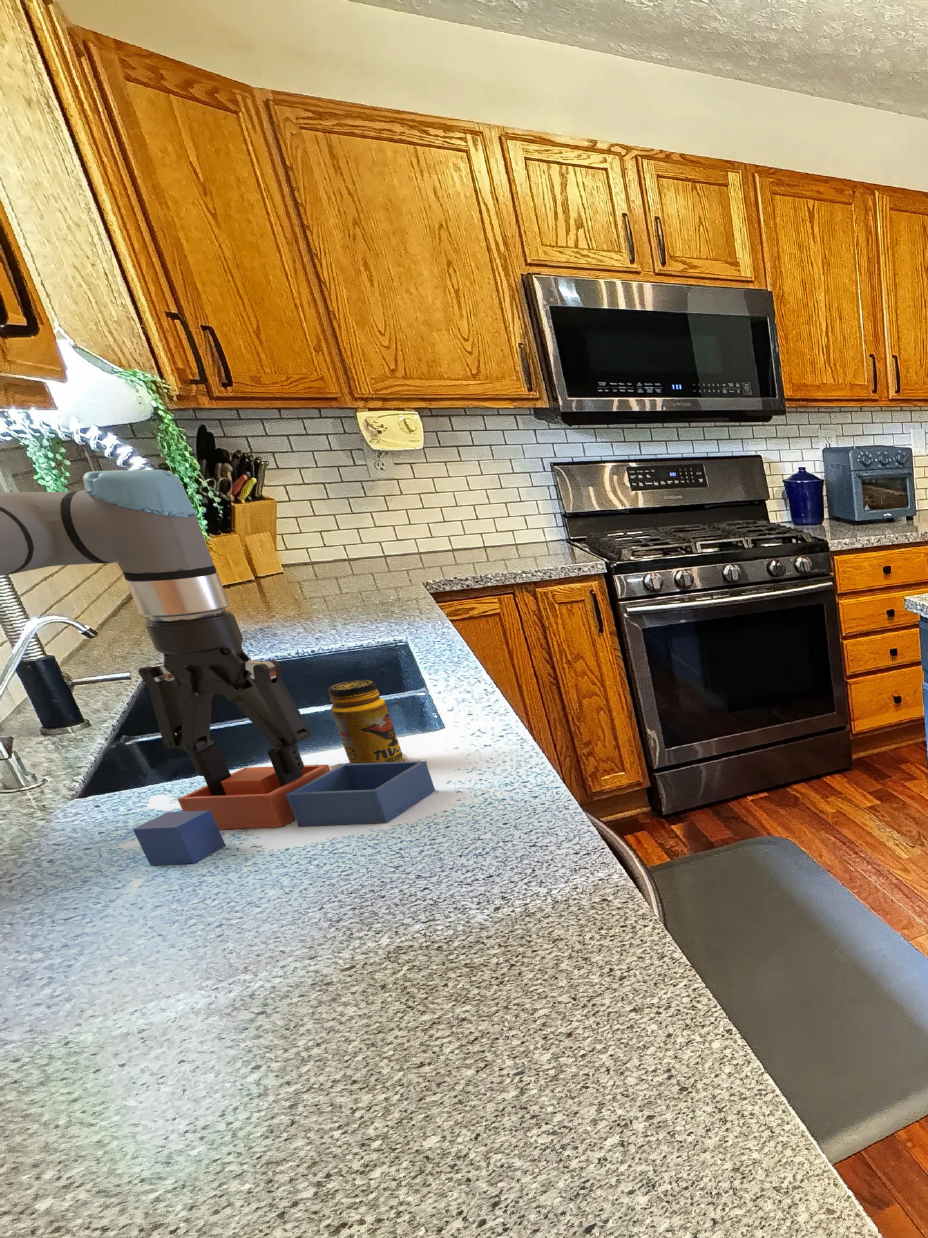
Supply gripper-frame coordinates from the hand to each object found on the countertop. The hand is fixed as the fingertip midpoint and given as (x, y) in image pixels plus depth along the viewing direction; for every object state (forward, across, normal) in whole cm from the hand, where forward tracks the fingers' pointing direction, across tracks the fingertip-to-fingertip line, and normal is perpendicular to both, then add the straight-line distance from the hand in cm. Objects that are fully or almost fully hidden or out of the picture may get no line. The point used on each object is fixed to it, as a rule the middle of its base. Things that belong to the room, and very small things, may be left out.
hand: (262, 797), depth 107 cm
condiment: (+2, -3, -15) cm, 16 cm away
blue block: (+2, 0, +12) cm, 12 cm away
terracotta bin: (+2, 0, 0) cm, 2 cm away
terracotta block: (+1, 0, 0) cm, 1 cm away
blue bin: (+2, -12, 0) cm, 12 cm away
